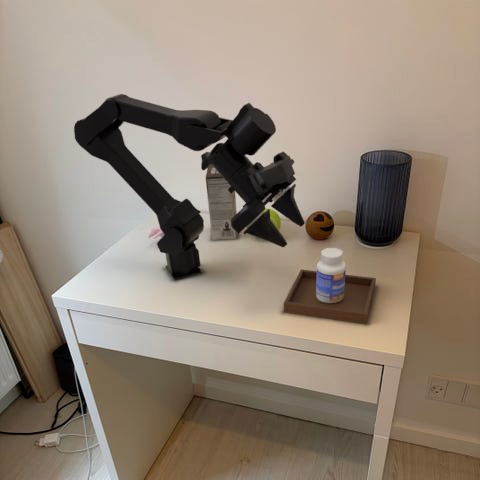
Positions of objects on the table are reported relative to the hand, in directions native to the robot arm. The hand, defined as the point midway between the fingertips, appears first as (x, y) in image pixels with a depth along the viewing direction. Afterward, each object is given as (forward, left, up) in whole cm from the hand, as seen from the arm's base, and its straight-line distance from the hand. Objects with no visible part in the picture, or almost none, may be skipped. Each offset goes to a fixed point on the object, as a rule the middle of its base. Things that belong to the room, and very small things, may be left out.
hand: (294, 235), depth 91 cm
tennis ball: (+7, +26, -13) cm, 30 cm away
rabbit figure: (-14, +39, -13) cm, 43 cm away
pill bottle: (+5, -6, -12) cm, 14 cm away
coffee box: (-1, +34, -13) cm, 36 cm away
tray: (+5, -6, -13) cm, 15 cm away
